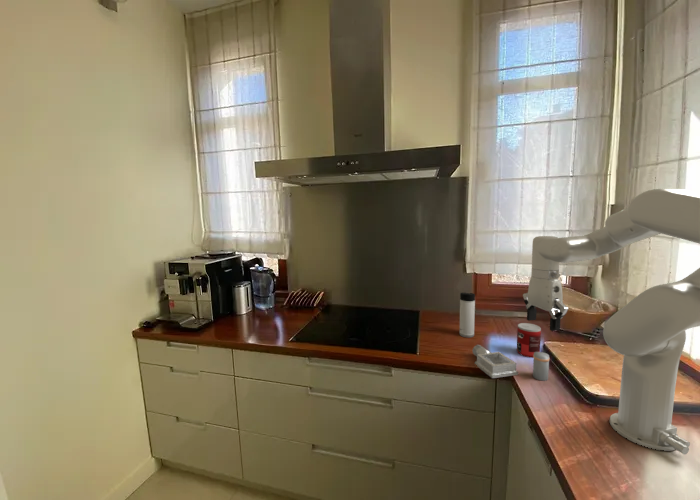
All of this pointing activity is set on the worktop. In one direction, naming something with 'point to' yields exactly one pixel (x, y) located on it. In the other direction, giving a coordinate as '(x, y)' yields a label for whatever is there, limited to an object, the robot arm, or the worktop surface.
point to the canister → (540, 366)
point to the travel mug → (467, 314)
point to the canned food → (528, 339)
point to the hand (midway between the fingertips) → (542, 324)
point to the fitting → (494, 363)
